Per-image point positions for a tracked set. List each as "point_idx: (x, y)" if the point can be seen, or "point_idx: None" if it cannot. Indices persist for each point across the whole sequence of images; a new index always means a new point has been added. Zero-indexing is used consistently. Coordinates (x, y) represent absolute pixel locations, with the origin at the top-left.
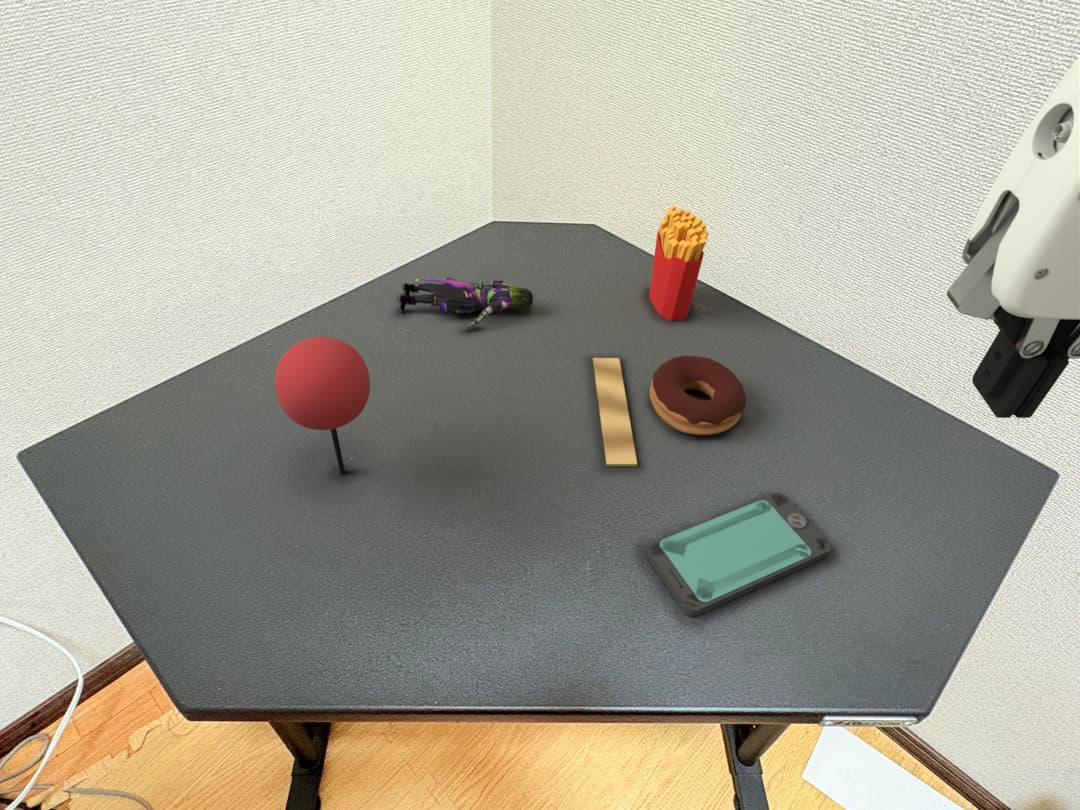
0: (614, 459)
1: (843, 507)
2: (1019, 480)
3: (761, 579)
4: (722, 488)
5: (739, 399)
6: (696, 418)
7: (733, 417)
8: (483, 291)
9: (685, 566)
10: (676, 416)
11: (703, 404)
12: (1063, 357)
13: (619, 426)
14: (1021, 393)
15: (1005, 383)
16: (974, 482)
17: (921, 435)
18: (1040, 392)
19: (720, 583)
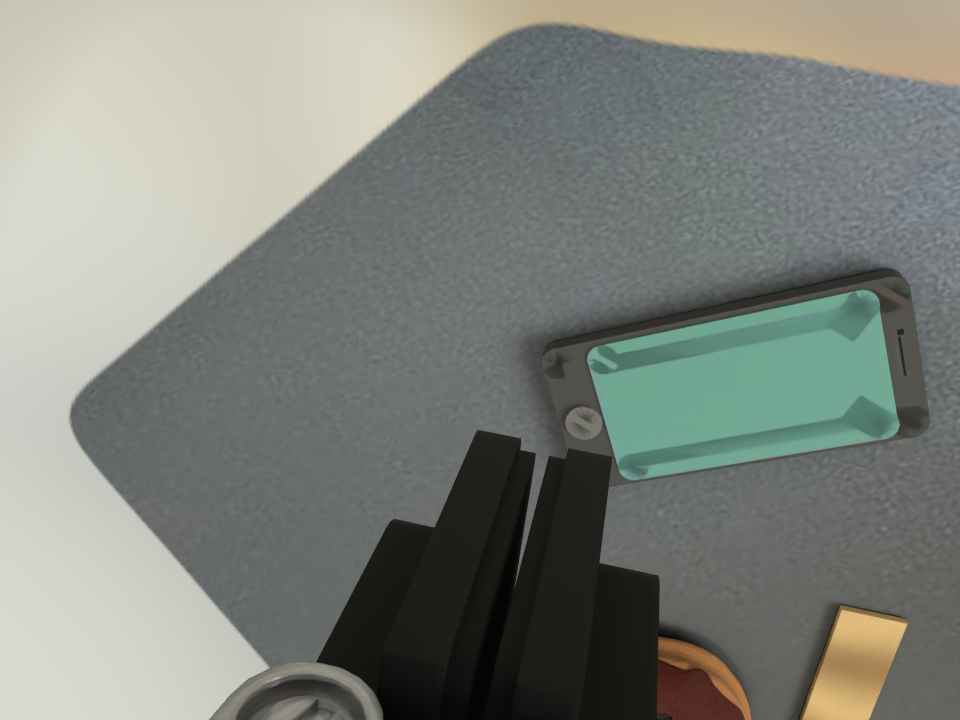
0: (886, 629)
1: (463, 434)
2: (109, 419)
3: (720, 316)
4: (684, 521)
5: None
6: (694, 678)
7: None
8: None
9: (869, 372)
10: (728, 691)
11: (672, 705)
12: (393, 688)
13: (836, 696)
14: (582, 535)
15: (608, 606)
16: (191, 432)
17: (240, 544)
18: (484, 519)
19: (812, 323)
